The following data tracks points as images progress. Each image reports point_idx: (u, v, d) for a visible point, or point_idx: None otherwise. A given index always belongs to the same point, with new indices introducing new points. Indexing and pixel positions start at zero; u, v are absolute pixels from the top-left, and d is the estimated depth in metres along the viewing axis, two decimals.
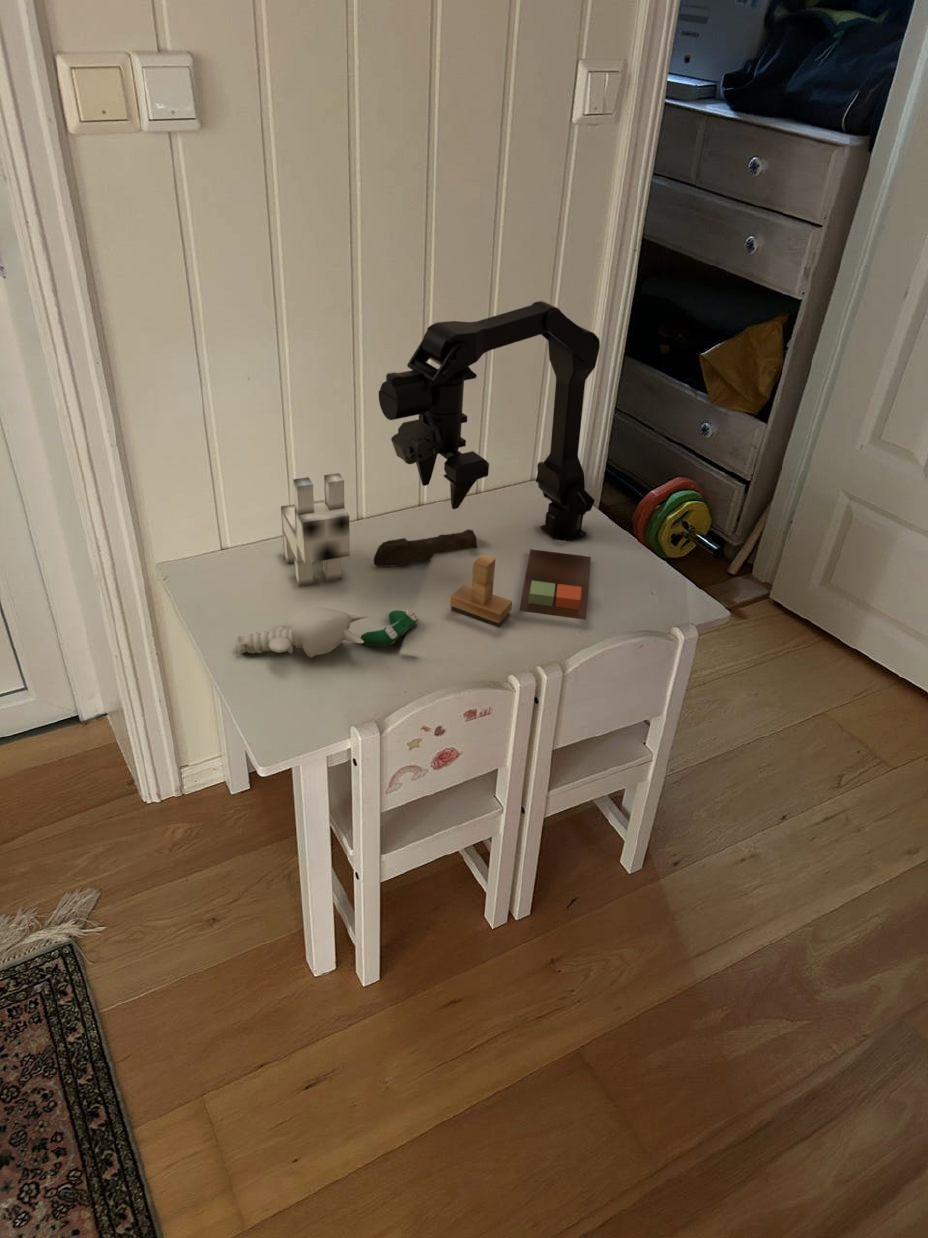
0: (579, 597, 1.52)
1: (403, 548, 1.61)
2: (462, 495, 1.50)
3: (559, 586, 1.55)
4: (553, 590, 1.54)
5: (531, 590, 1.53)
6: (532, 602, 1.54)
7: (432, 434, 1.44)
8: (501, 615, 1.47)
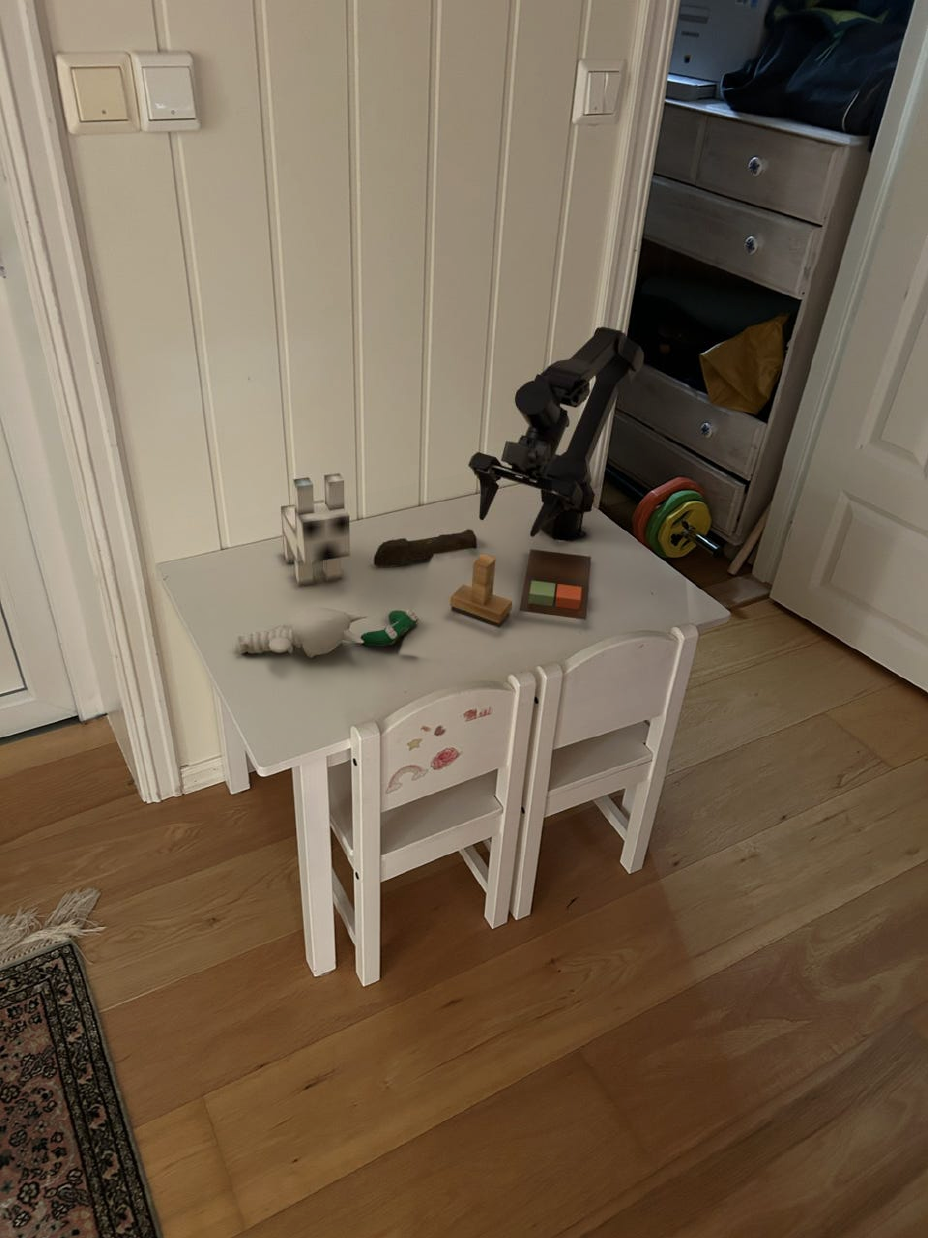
0: (579, 597, 1.52)
1: (403, 548, 1.61)
2: (544, 523, 1.49)
3: (559, 586, 1.55)
4: (553, 590, 1.54)
5: (531, 590, 1.53)
6: (532, 602, 1.54)
7: None
8: (501, 615, 1.47)
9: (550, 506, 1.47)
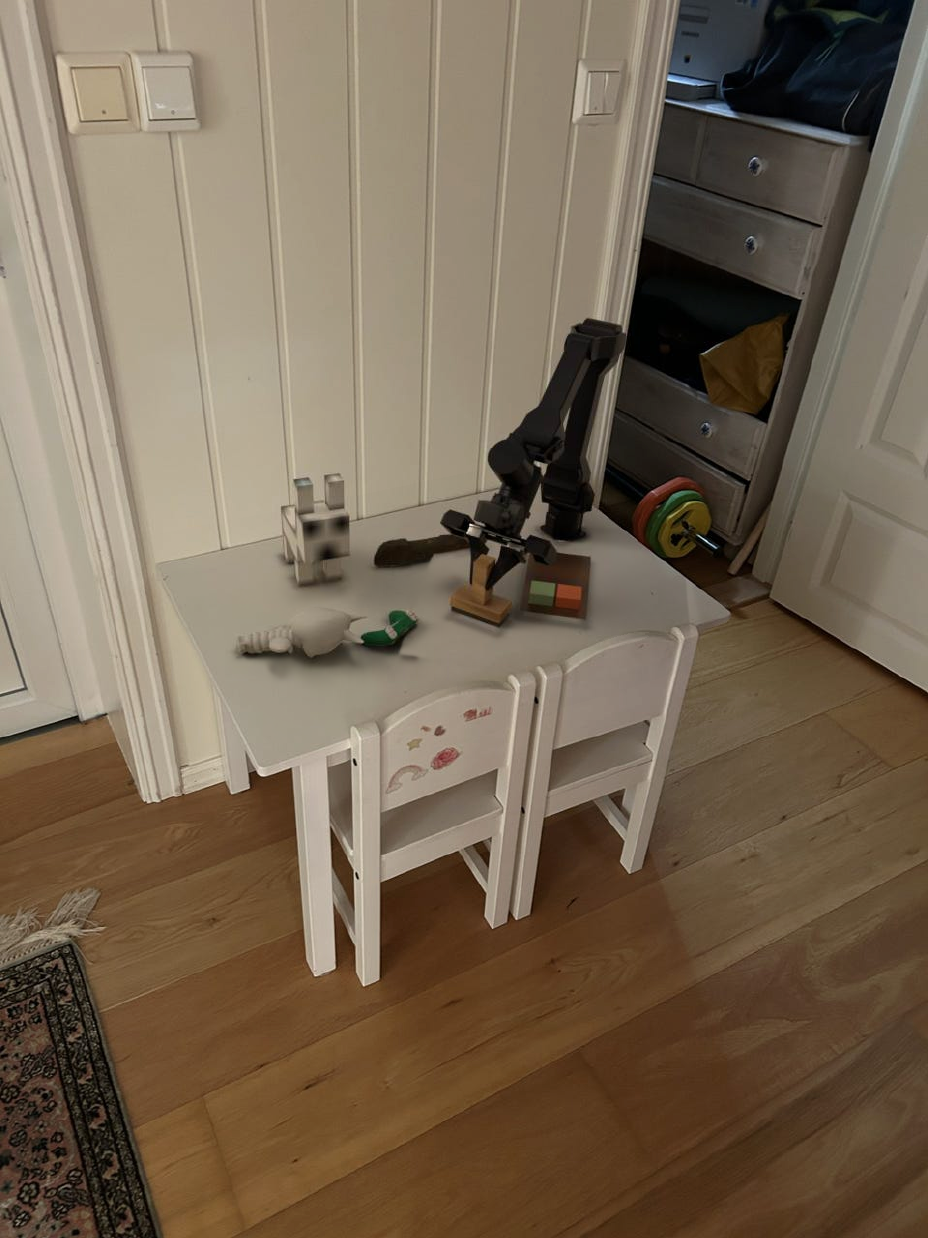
0: (579, 597, 1.52)
1: (403, 548, 1.61)
2: (499, 577, 1.47)
3: (559, 586, 1.55)
4: (553, 590, 1.54)
5: (531, 590, 1.53)
6: (532, 602, 1.54)
7: None
8: (501, 615, 1.47)
9: (505, 560, 1.45)
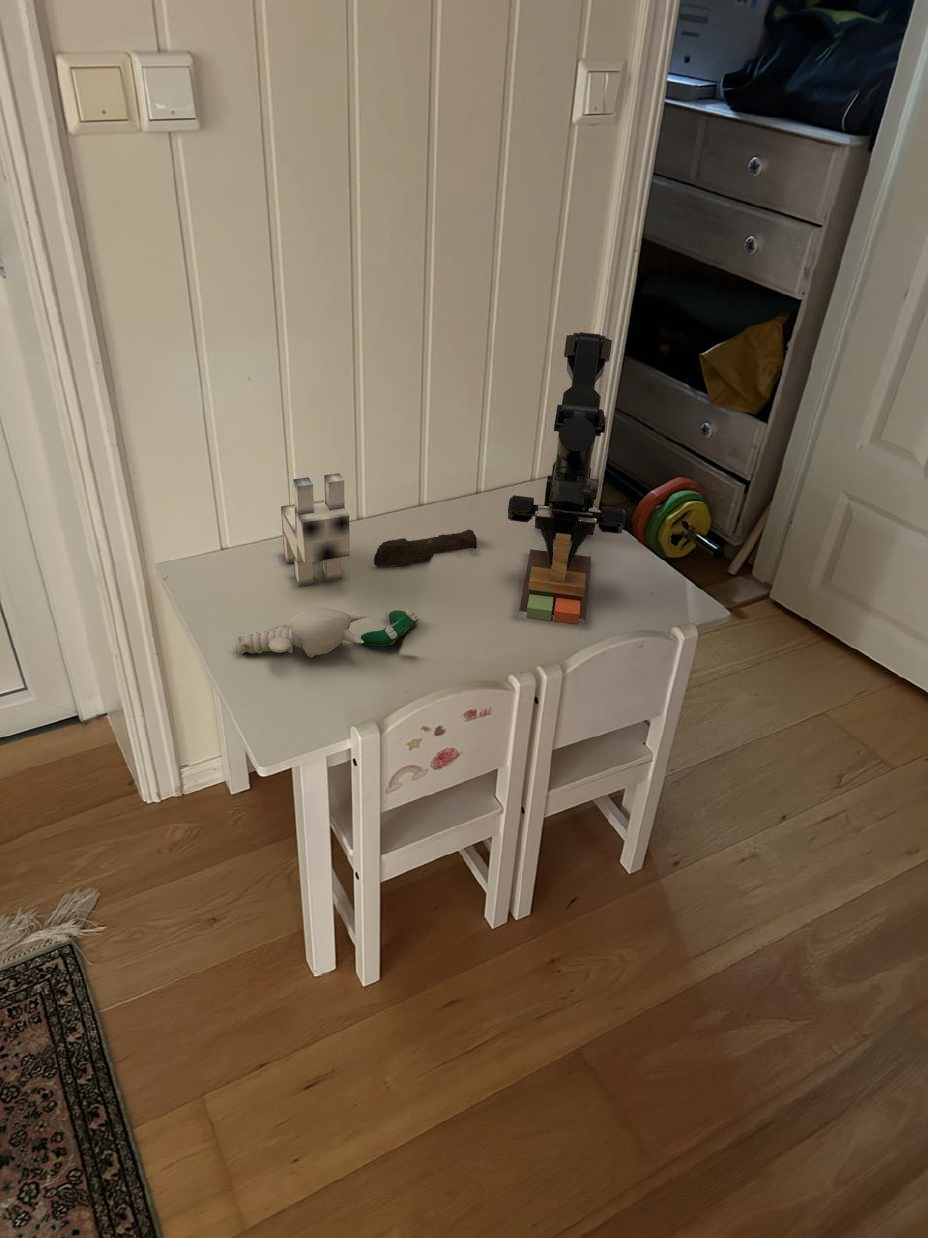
0: (578, 611, 1.49)
1: (403, 548, 1.61)
2: (575, 552, 1.50)
3: (557, 600, 1.51)
4: (551, 604, 1.50)
5: (529, 604, 1.50)
6: (530, 616, 1.50)
7: None
8: (584, 588, 1.51)
9: (582, 534, 1.48)
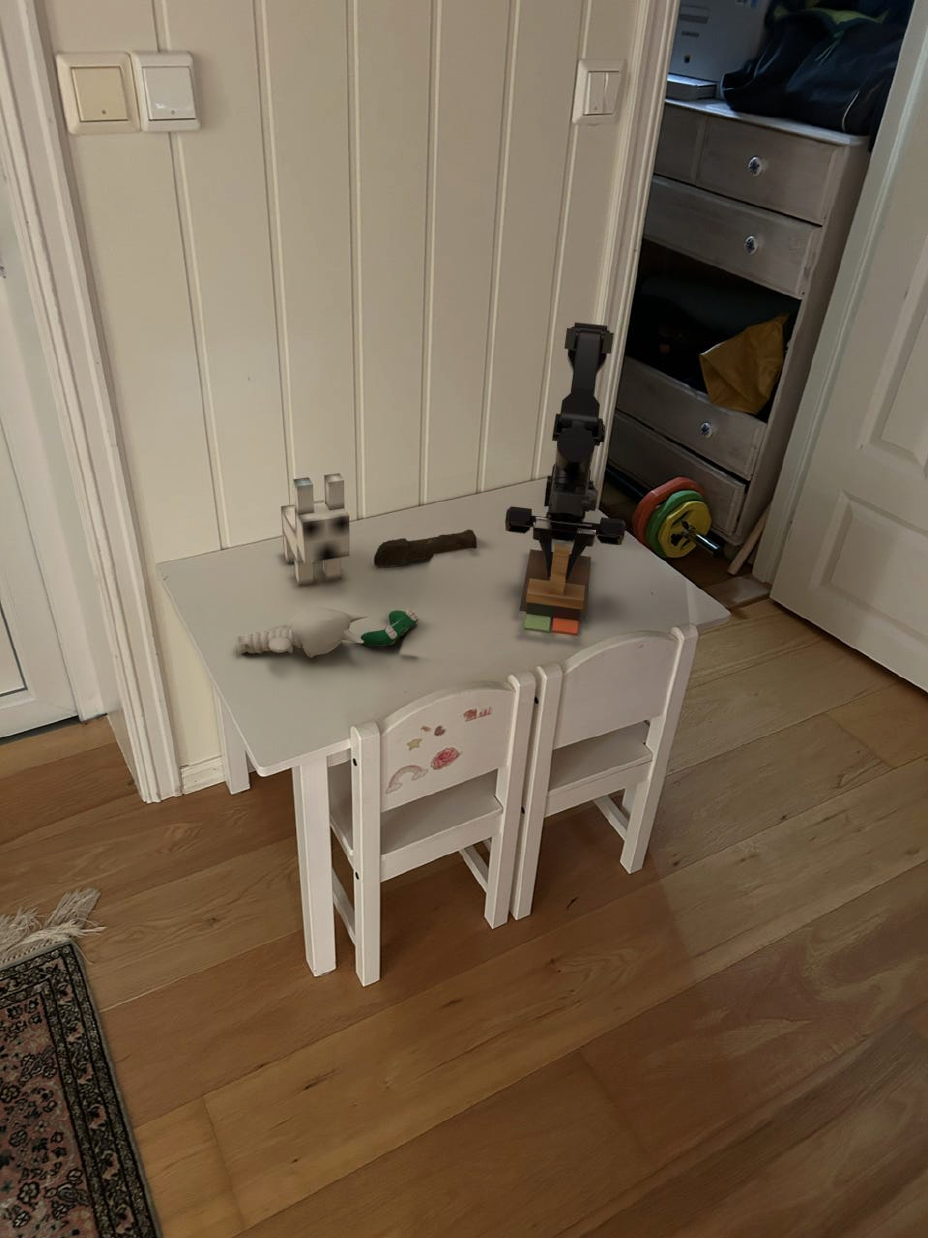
0: (576, 630, 1.48)
1: (403, 548, 1.61)
2: (574, 564, 1.47)
3: (555, 618, 1.50)
4: (548, 623, 1.49)
5: (526, 624, 1.48)
6: None
7: None
8: None
9: (581, 546, 1.45)
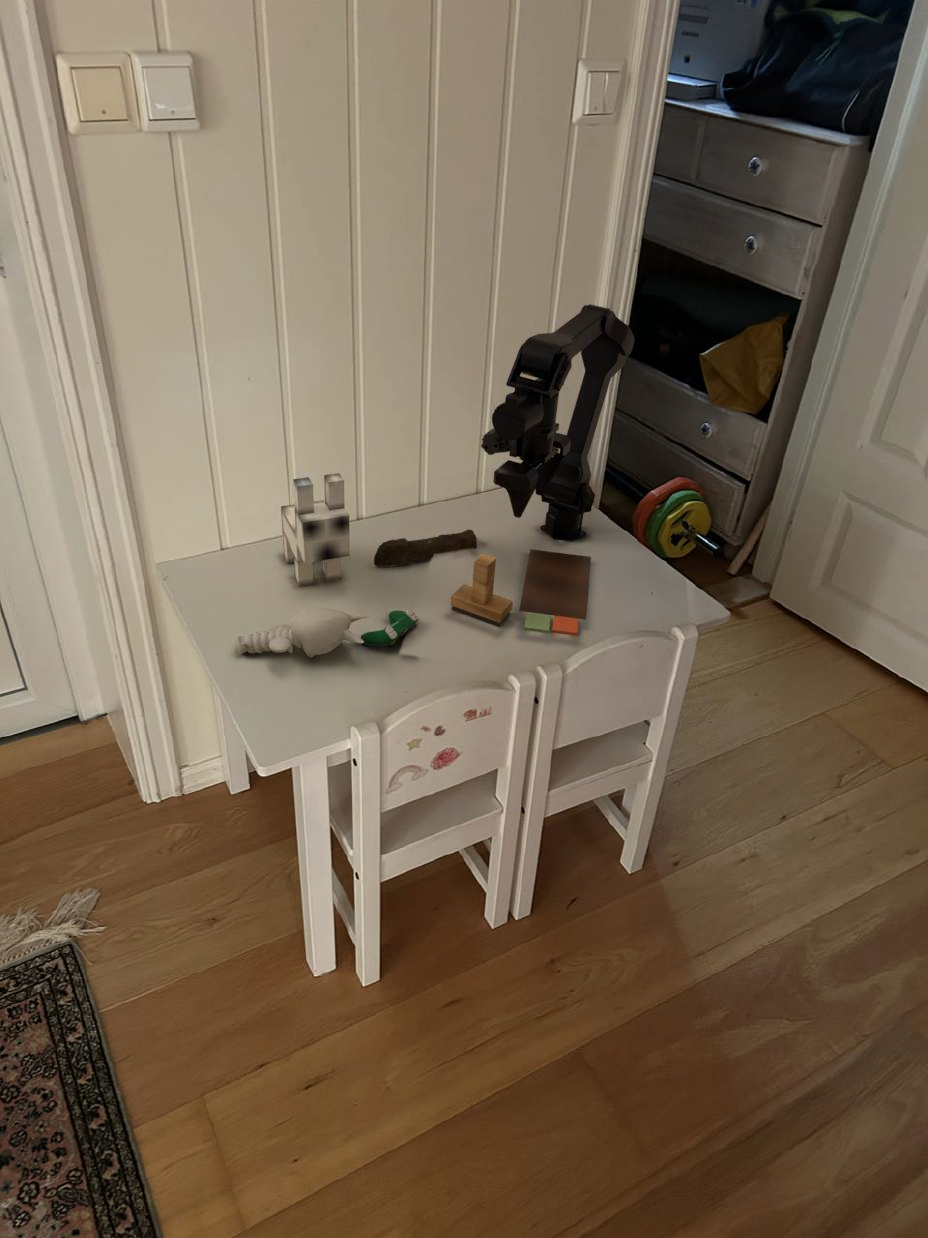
0: (576, 630, 1.47)
1: (403, 548, 1.61)
2: (520, 506, 1.51)
3: (555, 618, 1.50)
4: (548, 623, 1.49)
5: (526, 624, 1.48)
6: None
7: None
8: (501, 614, 1.47)
9: None
